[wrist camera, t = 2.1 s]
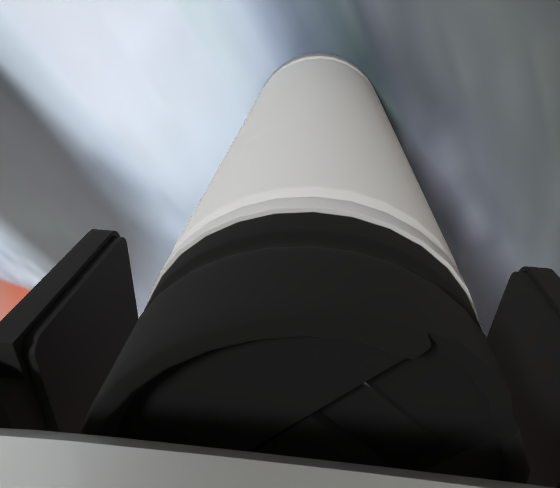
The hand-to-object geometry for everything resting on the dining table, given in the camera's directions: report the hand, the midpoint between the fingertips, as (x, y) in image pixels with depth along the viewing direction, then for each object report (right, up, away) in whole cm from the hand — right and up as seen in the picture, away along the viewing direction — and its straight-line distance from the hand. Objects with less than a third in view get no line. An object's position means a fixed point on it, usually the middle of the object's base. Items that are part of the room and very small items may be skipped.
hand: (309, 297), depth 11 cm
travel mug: (+1, +8, +12) cm, 14 cm away
